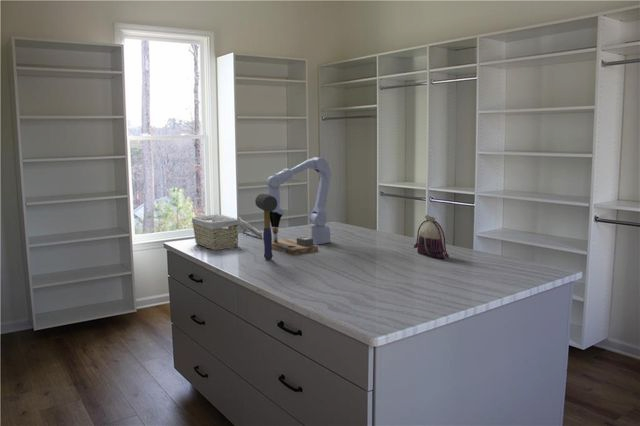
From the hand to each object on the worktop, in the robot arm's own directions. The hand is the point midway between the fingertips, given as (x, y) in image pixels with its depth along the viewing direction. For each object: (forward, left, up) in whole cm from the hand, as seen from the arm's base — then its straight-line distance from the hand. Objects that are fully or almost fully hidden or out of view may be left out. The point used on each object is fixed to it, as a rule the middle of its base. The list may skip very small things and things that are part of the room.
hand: (275, 227), depth 278 cm
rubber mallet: (+17, +22, -10) cm, 30 cm away
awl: (0, 0, -8) cm, 8 cm away
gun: (-6, -39, -11) cm, 41 cm away
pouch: (-43, +65, -10) cm, 79 cm away
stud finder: (-8, +15, -8) cm, 19 cm away
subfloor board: (-4, +9, -10) cm, 14 cm away
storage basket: (+21, -24, -11) cm, 34 cm away
